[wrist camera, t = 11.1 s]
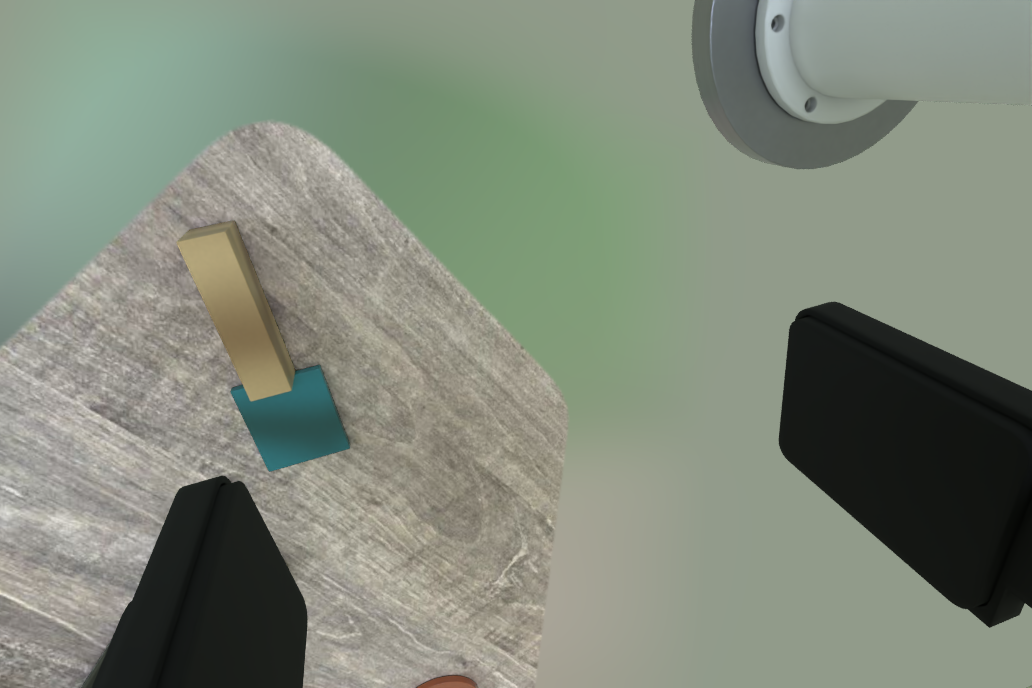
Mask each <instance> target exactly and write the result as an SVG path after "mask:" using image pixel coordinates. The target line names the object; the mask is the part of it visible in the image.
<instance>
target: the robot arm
mask: <svg viewBox="0 0 1032 688" xmlns="http://www.w3.org/2000/svg"><path fill="white" fill-rule="evenodd" d="M755 37H756V53H757V59H758V63H759V67H760V72H761V75H762V78H763V80H764V82H765V84H766V87H767V89H768V91H769V93H770V94H771V96H772V97H773V98H774V100H775V101H776V102H777V104H778V105H779V106H780V107H781V108H783V109H784V110H785V111H786V112H788V113H789V114H790V115H792V116H794V117H796V118H798V119H801V120H803V121H807V122H813V123H820V124H838V123H843V122H847V121H852V120H854V119H856V118H859V117H861V116H863V115H865V114H867V113H869V112H871V111H872V110H874V109H875V108H876V107H878V106H879V105H881V104H882V103H884V102H885V101H886V100H908V101H934V102H958V103H982V104H1007V105H1031V106H1032V0H759V4H758V8H757V18H756V30H755ZM779 446H780V449H781V451H782V453H783V455H784V456H785V458H786V459H787V460H788V461H789V462H790V463H792V464H793V465H794V466H795V467H796V468H797V469H798V470H800V471H801V472H802V473H803V474H804V475H805V476H806V477H808V478H809V479H810V480H811V481H812V482H814V483H815V484H816V485H817V486H818V487H819V488H820V489H821V490H823V491H824V492H825V493H826V494H827V495H828V496H830V497H831V498H832V499H833V500H834V501H835V502H836V503H838V504H839V505H840V506H841V507H842V508H843V509H844V510H846V511H847V512H848V513H849V514H850V515H852V517H854V518H855V519H856V520H857V521H858V522H859V523H861V524H862V525H863V526H864V527H865V528H866V529H868V530H869V531H870V532H871V533H872V534H873V535H874V536H875V537H877V538H878V539H879V540H880V541H881V542H882V543H884V544H885V545H886V546H887V547H888V548H889V549H891V550H892V551H893V552H894V553H895V554H896V555H897V556H898V557H900V558H901V559H902V560H903V561H904V562H905V563H907V564H908V565H909V566H910V567H911V568H912V569H914V570H915V571H916V572H917V573H918V574H919V575H921V577H923V578H924V579H925V580H926V581H927V582H928V583H930V584H931V585H932V586H933V587H934V588H935V589H936V590H938V591H939V592H940V593H941V594H942V595H943V596H945V597H946V598H947V599H948V600H949V601H950V602H952V603H953V604H955V605H956V606H958V607H960V608H963V609H968V610H969V611H970V612H972V613H973V614H974V615H975V616H976V617H977V618H979V619H980V620H981V621H982V622H983V623H985V624H986V625H987V626H988V627H989V628H990V627H992V626H995V625H997V624H999V623H1002V622H1004V621H1006V620H1009V619H1011V618H1013V617H1016V616H1018V615H1019V614H1020V613H1021V610H1022V608H1023V606H1024V604H1025V603H1026V604H1027V605H1028V606H1030V607H1031V608H1032V391H1031V390H1029V389H1026V388H1024V387H1022V386H1020V385H1018V384H1015V383H1013V382H1011V381H1009V380H1007V379H1005V378H1002V377H1000V376H998V375H996V374H994V373H992V372H989V371H987V370H985V369H983V368H980V367H978V366H976V365H974V364H972V363H969V362H968V361H965V360H963V359H961V358H959V357H956V356H954V355H952V354H950V353H948V352H946V351H944V350H941V349H939V348H937V347H935V346H933V345H930V344H928V343H926V342H924V341H922V340H919V339H917V338H915V337H913V336H911V335H909V334H906V333H904V332H902V331H900V330H898V329H895V328H893V327H891V326H889V325H887V324H885V323H882V322H880V321H878V320H876V319H874V318H871V317H869V316H867V315H865V314H862V313H860V312H858V311H856V310H854V309H852V308H850V307H847V306H845V305H843V304H841V303H837V302H828V303H825V304H821V305H818V306H814V307H811V308H807V309H804V310H802V311H800V312H799V313H798V315H797V316H796V319H795V321H794V322H793V323H792V324H791V326H790V329H789V339H788V350H787V360H786V370H785V380H784V390H783V401H782V412H781V422H780V432H779ZM306 636H307V609H306V604H305V601H304V598H303V596H302V594H301V592H300V590H299V588H298V586H297V584H296V582H295V580H294V578H293V576H292V575H291V573H290V571H289V569H288V567H287V565H286V563H285V561H284V559H283V557H282V555H281V553H280V551H279V549H278V547H277V546H276V544H275V542H274V540H273V538H272V536H271V534H270V532H269V530H268V528H267V526H266V524H265V522H264V520H263V518H262V516H261V515H260V513H259V511H258V509H257V507H256V505H255V503H254V501H253V499H252V497H251V495H250V493H249V491H248V489H247V488H246V486H245V484H244V483H242V482H241V481H237V482H234V483H231V481H230V480H229V479H228V478H227V477H226V476H219V477H215V478H212V479H208V480H205V481H201V482H198V483H194V484H191V485H187V486H184V487H182V488H180V489H179V490H178V492H177V494H176V496H175V498H174V501H173V503H172V506H171V508H170V510H169V513H168V515H167V518H166V520H165V523H164V525H163V527H162V530H161V532H160V535H159V537H158V540H157V542H156V544H155V547H154V549H153V552H152V554H151V557H150V559H149V561H148V564H147V566H146V569H145V571H144V574H143V576H142V578H141V581H140V583H139V586H138V588H137V590H136V593H135V595H134V598H133V600H132V601H131V602H130V603H129V604H128V606H127V607H126V609H125V611H124V613H123V614H122V616H121V619H120V621H119V624H118V626H117V628H116V631H115V633H114V635H113V638H112V640H111V643H110V645H109V647H108V650H107V652H106V654H105V657H104V659H103V662H102V664H101V666H100V669H99V671H98V674H97V676H96V678H95V681H94V683H93V685H92V688H303V676H304V663H305V649H306ZM1028 688H1032V686H1030V687H1028Z"/></svg>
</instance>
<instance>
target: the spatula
mask: <svg viewBox="0 0 1032 688" xmlns="http://www.w3.org/2000/svg"><path fill="white" fill-rule="evenodd" d="M177 245H178V247H179V250H180V252H181V254H182V256H183V258H184V260H185V262H186V265H187V267H188V269H189V271H190V273H191V275H192V277H193V279H194V282H195V284H196V286H197V288H198V290H199V292H200V294H201V297H202V299H203V301H204V303H205V305H206V307H207V309H208V312H209V314H210V316H211V318H212V320H213V322H214V324H215V327H216V329H217V331H218V333H219V335H220V337H221V339H222V342H223V344H224V346H225V348H226V350H227V352H228V354H229V357H230V359H231V361H232V363H233V365H234V367H235V369H236V372H237V374H238V376H239V378H240V380H241V382H242V384H243V385H240V386H237V387H233V388H232V389H231V394H232V396H233V398H234V400H235V402H236V404H237V406H238V408H239V411H240V413H241V415H242V417H243V419H244V421H245V423H246V425H247V427H248V429H249V431H250V433H251V435H252V437H253V439H254V442H255V444H256V446H257V448H258V450H259V452H260V454H261V456H262V458H263V460H264V462H265V464H266V466H267V468H268V471H269V472H270V471H274V470H277V469H281V468H284V467H288V466H291V465H294V464H298V463H301V462H305V461H308V460H312V459H315V458H319V457H322V456H326V455H329V454H332V453H336V452H339V451H343V450H346V449H349V448H350V443H349V440H348V437H347V435H346V432H345V429H344V427H343V424H342V421H341V419H340V416H339V414H338V411H337V408H336V406H335V403H334V400H333V398H332V395H331V392H330V390H329V387H328V385H327V382H326V379H325V377H324V374H323V371H322V369H321V366H320V365H317V366H313V367H309V368H305V369H302V370H298V371H295V368H294V366H293V363H292V361H291V358H290V356H289V353H288V351H287V349H286V346H285V344H284V341H283V339H282V336H281V334H280V331H279V329H278V326H277V324H276V322H275V319H274V317H273V314H272V312H271V309H270V307H269V304H268V302H267V299H266V297H265V294H264V292H263V290H262V287H261V285H260V282H259V280H258V277H257V275H256V272H255V270H254V267H253V265H252V262H251V260H250V258H249V255H248V253H247V250H246V248H245V245H244V243H243V240H242V238H241V235H240V233H239V230H238V228H237V226H236V223H235V221H228V222H223V223H219V224H214V225H209V226H205V227H200V228H195V229H191V230H189V231H188V232H187V233H186V234H184V235H183V236H182V237H181V238H180V239H179V240H178V241H177Z"/></svg>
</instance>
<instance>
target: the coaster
mask: <svg viewBox="0 0 1032 688" xmlns="http://www.w3.org/2000/svg"><path fill="white" fill-rule="evenodd" d="M417 688H478V686H477V684H476V683H475V682H474V681H473V680H471V679H469V678H467V677H463V676H444V677H439V678H436V679H432V680H430V681H428V682H425V683H423V684H422V685H420V686H418V687H417Z"/></svg>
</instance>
